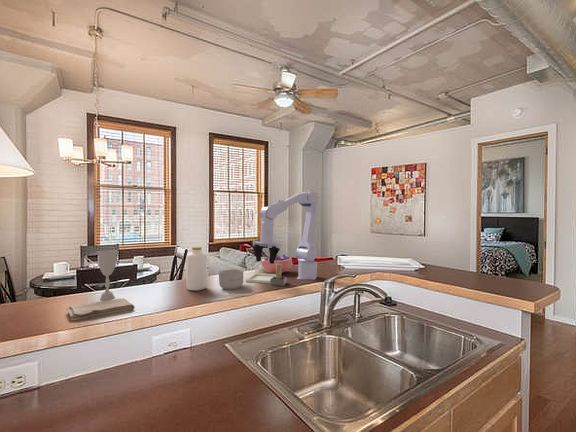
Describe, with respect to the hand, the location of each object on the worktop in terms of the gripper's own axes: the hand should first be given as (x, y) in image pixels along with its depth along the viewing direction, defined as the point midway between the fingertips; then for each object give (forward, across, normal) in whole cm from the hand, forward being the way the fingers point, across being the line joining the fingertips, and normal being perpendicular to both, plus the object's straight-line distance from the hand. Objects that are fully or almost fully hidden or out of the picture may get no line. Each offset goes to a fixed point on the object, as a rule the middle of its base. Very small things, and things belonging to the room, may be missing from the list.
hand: (265, 262), depth 141 cm
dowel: (+10, +5, +5) cm, 12 cm away
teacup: (+12, -8, -11) cm, 18 cm away
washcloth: (+16, -22, -60) cm, 65 cm away
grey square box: (+10, +5, +5) cm, 12 cm away
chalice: (+15, -36, -50) cm, 64 cm away
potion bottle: (+12, -20, -21) cm, 32 cm away
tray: (+10, -8, +9) cm, 15 cm away
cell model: (+9, -12, +27) cm, 31 cm away
